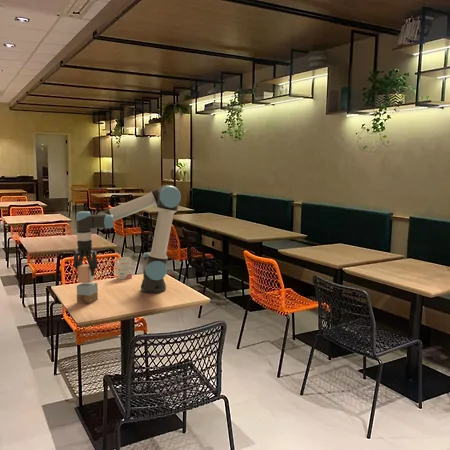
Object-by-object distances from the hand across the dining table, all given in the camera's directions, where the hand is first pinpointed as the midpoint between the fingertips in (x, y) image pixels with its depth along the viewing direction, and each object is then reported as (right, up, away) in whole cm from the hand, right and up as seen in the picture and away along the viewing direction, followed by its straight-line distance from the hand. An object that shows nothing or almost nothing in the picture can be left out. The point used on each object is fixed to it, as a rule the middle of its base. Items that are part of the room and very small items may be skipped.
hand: (86, 280), depth 248 cm
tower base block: (0, -12, +2) cm, 12 cm away
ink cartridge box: (+10, -5, +51) cm, 53 cm away
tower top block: (0, -7, +1) cm, 7 cm away
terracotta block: (0, 0, 0) cm, 0 cm away
